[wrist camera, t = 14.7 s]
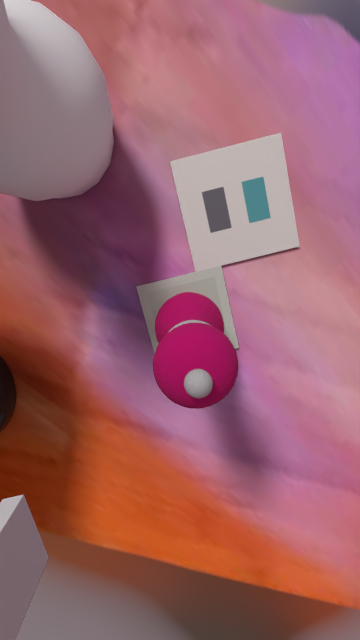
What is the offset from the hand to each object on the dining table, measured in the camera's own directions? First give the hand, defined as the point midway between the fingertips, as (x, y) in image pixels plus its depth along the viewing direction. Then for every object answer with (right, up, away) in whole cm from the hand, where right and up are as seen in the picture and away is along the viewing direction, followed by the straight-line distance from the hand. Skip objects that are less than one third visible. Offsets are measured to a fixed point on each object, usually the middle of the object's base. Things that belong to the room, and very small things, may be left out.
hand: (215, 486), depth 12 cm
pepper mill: (0, +6, +28) cm, 29 cm away
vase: (-14, +25, +24) cm, 37 cm away
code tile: (+5, +18, +25) cm, 32 cm away
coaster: (0, +6, +28) cm, 29 cm away
